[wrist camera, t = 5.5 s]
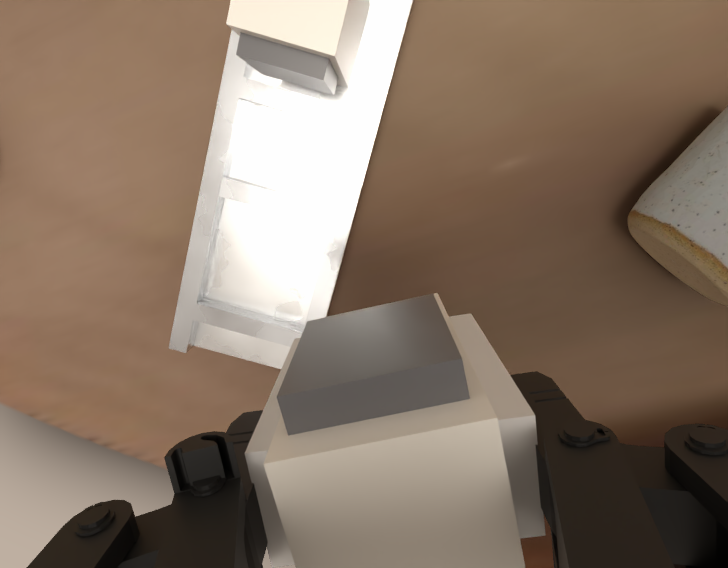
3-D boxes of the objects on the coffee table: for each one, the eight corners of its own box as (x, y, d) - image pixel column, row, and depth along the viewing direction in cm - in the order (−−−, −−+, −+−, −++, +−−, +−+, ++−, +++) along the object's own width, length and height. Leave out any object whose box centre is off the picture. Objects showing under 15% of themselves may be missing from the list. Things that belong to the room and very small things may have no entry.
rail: (430, -62, 25) (435, -84, 23) (312, 369, 31) (307, 385, 29) (275, -109, 25) (264, -137, 23) (184, 334, 31) (168, 348, 28)
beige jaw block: (344, 428, 17) (321, 648, 10) (309, 295, 16) (250, 422, 8) (460, 405, 17) (533, 612, 9) (432, 268, 16) (489, 373, 8)
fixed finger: (369, 5, 25) (364, -67, 17) (344, 104, 26) (328, 78, 18) (291, -19, 25) (250, -102, 17) (269, 82, 26) (221, 47, 18)
